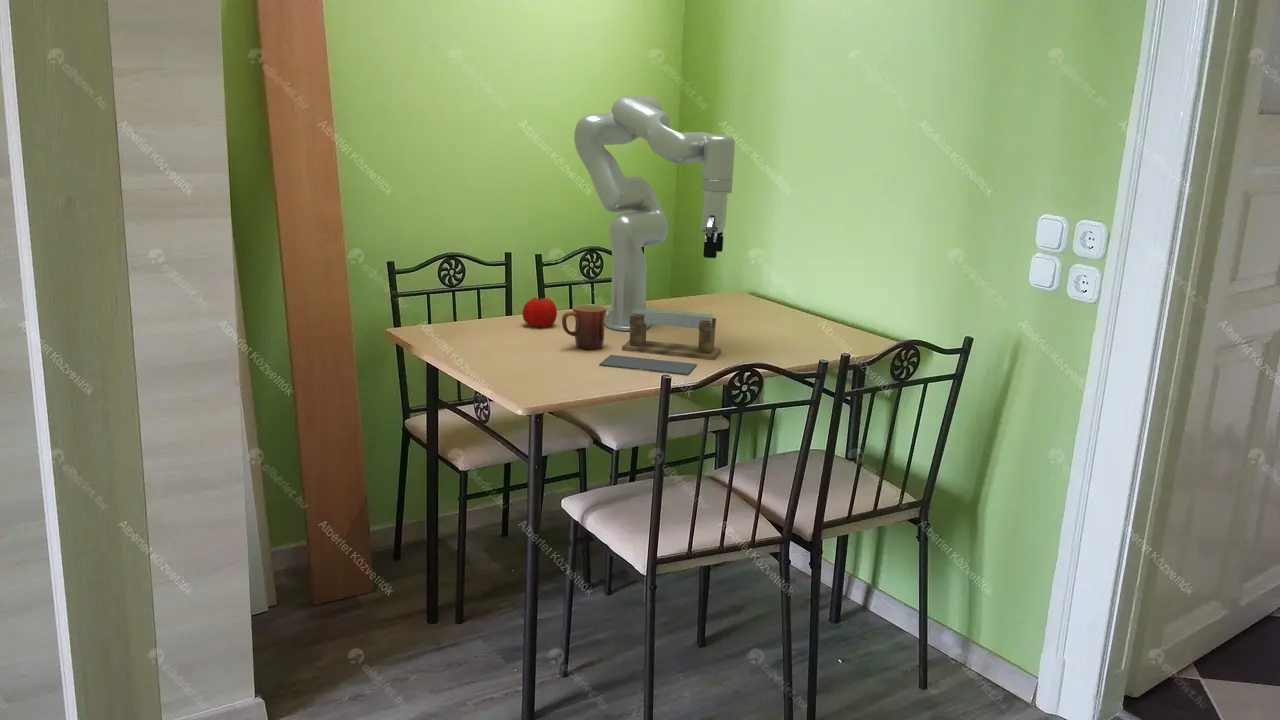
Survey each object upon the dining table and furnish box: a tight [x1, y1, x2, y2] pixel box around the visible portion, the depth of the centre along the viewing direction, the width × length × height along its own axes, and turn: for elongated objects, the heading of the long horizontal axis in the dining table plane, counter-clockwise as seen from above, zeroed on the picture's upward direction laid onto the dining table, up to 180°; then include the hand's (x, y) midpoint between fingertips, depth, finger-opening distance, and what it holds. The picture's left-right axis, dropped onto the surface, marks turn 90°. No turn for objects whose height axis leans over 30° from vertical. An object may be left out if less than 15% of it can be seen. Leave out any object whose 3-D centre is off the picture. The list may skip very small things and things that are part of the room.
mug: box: [561, 303, 608, 351], centre depth 255 cm, size 12×9×10 cm
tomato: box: [522, 297, 558, 329], centre depth 276 cm, size 9×9×8 cm
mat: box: [598, 354, 697, 376], centre depth 242 cm, size 22×9×1 cm, turn 74°
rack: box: [621, 315, 722, 361], centre depth 254 cm, size 24×8×9 cm, turn 74°
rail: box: [633, 307, 714, 330], centre depth 253 cm, size 20×3×3 cm, turn 74°
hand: (713, 254), depth 253 cm, fingers open, 9 cm apart
